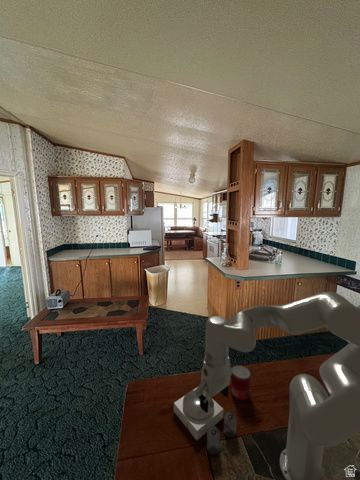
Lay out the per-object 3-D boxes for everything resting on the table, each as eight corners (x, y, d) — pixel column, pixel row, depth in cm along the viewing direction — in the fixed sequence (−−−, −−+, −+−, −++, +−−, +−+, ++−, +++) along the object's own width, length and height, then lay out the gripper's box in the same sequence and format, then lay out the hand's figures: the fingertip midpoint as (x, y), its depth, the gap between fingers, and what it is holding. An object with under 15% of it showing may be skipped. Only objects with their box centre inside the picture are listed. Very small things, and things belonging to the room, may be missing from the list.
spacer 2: (238, 432, 79) (238, 418, 78) (230, 440, 76) (231, 425, 75) (228, 423, 82) (229, 409, 81) (221, 430, 79) (221, 415, 79)
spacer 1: (222, 448, 73) (222, 433, 72) (213, 457, 70) (213, 441, 70) (212, 438, 77) (213, 423, 76) (203, 446, 74) (204, 430, 73)
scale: (222, 417, 84) (223, 408, 84) (196, 441, 75) (196, 430, 75) (198, 393, 95) (199, 385, 94) (173, 411, 86) (173, 402, 86)
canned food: (250, 402, 91) (251, 379, 90) (231, 399, 93) (232, 376, 91) (248, 388, 99) (249, 366, 97) (230, 385, 100) (231, 364, 99)
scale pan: (220, 407, 84) (220, 405, 84) (197, 426, 76) (197, 424, 76) (199, 386, 93) (199, 385, 93) (176, 401, 86) (176, 400, 86)
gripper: (205, 373, 61) (203, 425, 63) (242, 350, 71) (239, 396, 74) (188, 359, 67) (187, 407, 69) (224, 340, 77) (222, 382, 79)
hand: (214, 401), depth 71 cm, fingers open, 9 cm apart
